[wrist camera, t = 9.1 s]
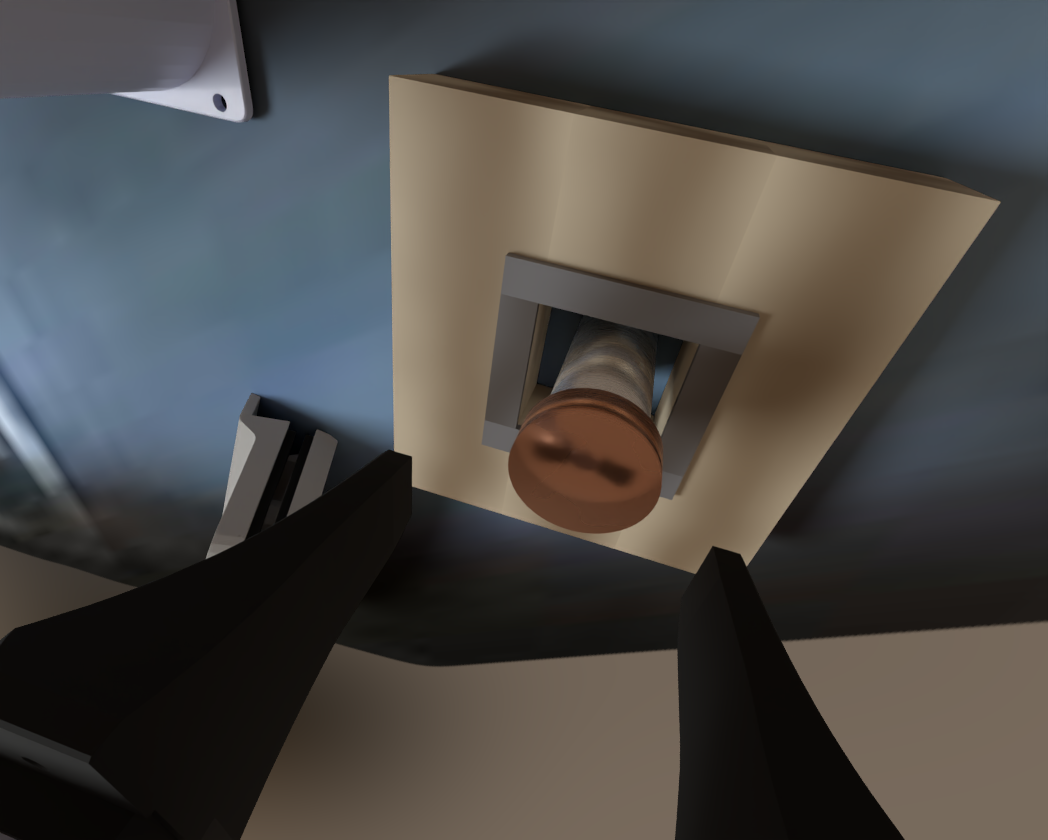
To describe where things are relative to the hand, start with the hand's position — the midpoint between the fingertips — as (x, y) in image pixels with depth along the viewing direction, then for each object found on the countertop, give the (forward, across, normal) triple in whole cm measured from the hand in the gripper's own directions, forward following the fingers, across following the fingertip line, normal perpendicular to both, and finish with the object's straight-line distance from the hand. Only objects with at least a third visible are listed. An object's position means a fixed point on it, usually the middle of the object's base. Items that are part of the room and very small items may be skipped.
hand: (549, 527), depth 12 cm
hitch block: (+9, 0, 0) cm, 9 cm away
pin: (+9, 0, -1) cm, 9 cm away
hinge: (+10, +16, +16) cm, 25 cm away
